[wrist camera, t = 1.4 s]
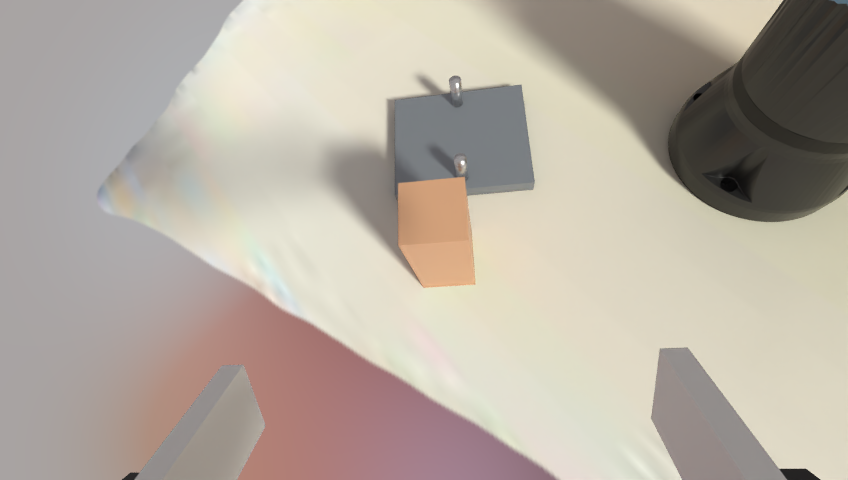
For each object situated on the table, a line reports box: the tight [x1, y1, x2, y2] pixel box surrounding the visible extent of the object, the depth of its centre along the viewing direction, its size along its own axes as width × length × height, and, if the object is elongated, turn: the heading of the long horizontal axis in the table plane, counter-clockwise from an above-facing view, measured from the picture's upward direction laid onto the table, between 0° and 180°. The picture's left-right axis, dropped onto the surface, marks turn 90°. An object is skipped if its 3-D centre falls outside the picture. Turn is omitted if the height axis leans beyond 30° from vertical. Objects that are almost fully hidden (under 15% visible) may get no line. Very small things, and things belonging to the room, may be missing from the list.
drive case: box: [398, 177, 475, 288], centre depth 36 cm, size 5×5×12 cm
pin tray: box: [395, 76, 535, 201], centre depth 44 cm, size 14×12×5 cm
